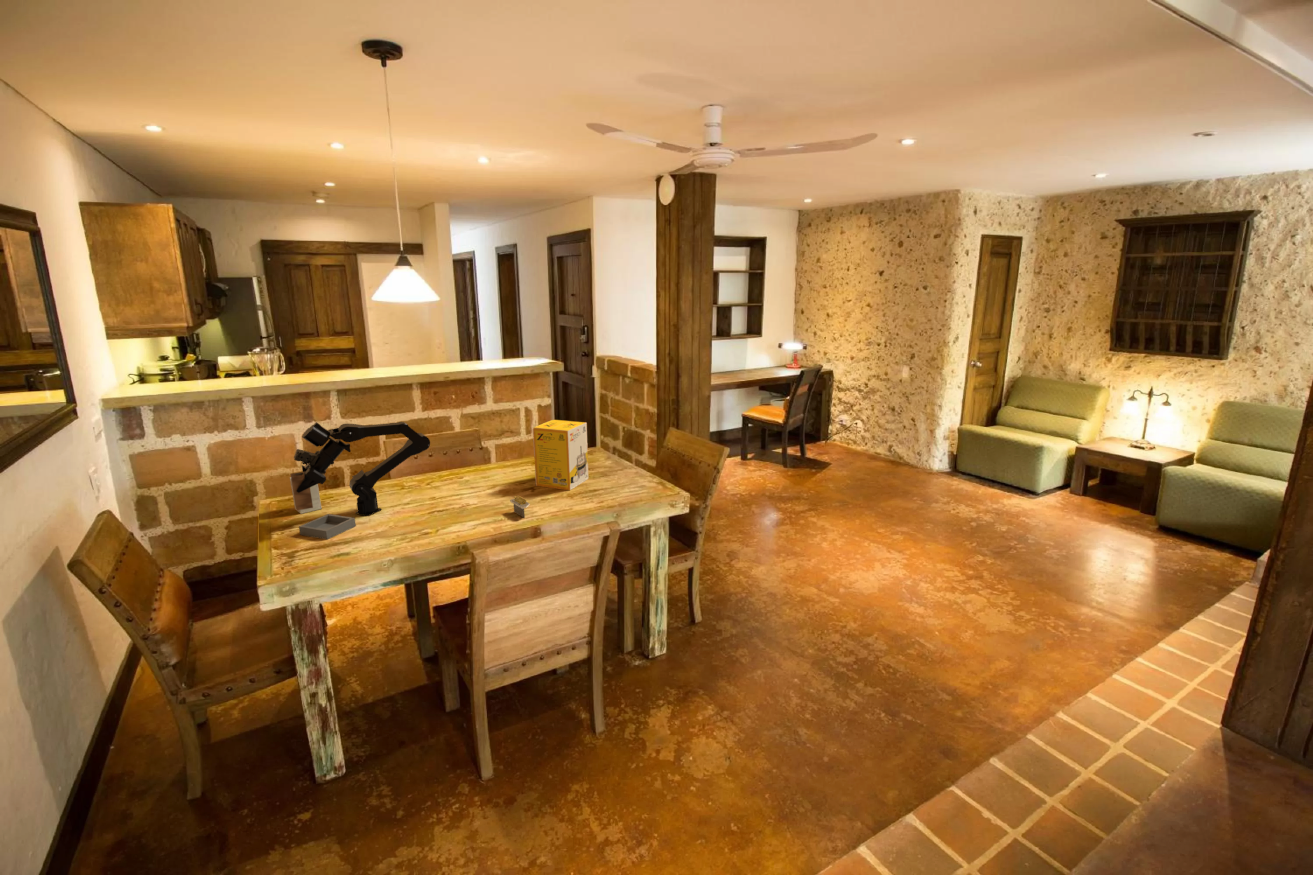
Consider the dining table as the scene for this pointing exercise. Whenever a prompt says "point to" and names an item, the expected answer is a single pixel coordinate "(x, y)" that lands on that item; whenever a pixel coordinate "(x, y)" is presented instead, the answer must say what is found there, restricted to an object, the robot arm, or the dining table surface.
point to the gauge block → (304, 497)
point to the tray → (327, 526)
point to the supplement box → (315, 499)
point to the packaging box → (560, 454)
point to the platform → (519, 505)
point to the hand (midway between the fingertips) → (296, 489)
